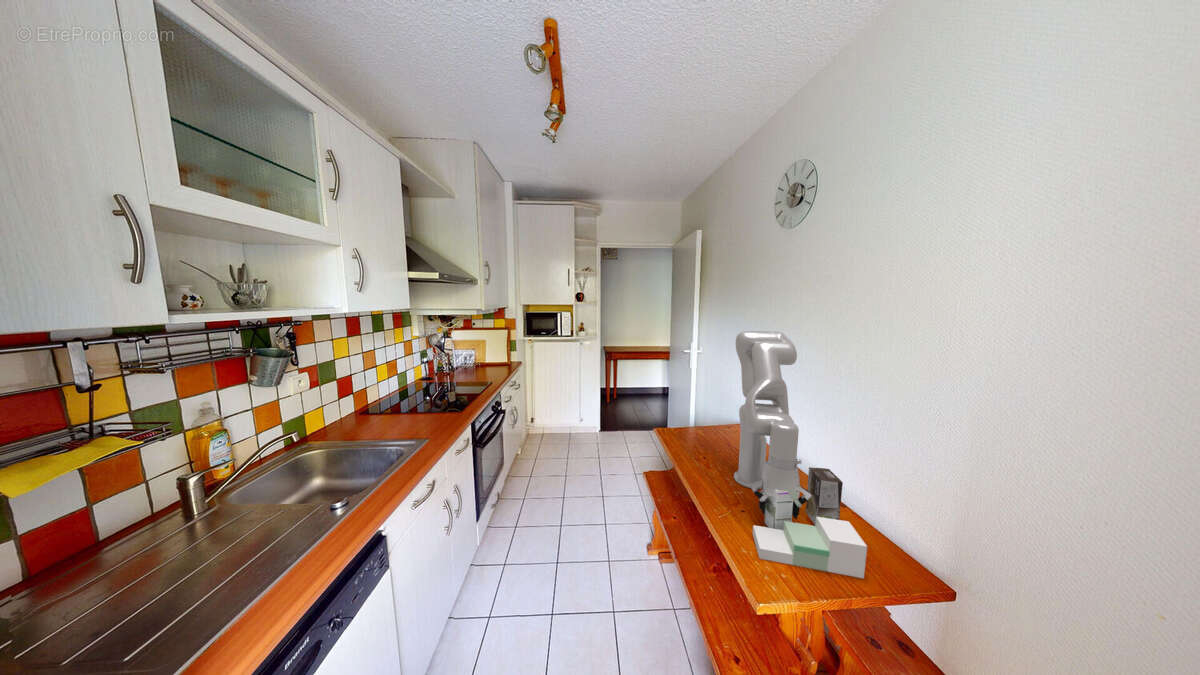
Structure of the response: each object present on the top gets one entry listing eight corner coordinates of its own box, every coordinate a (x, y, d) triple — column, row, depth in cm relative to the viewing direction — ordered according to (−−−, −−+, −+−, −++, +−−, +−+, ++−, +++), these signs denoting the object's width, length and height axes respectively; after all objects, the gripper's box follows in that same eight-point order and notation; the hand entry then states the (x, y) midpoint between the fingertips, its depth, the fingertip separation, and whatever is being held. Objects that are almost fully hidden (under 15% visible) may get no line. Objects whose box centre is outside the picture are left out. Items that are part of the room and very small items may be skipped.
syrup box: (791, 534, 102) (795, 489, 100) (773, 535, 101) (776, 490, 100) (780, 521, 107) (783, 479, 106) (762, 522, 107) (765, 480, 105)
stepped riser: (752, 534, 102) (754, 506, 101) (846, 550, 95) (848, 521, 94) (759, 559, 92) (761, 529, 91) (864, 579, 85) (867, 547, 84)
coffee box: (839, 531, 103) (843, 482, 101) (816, 528, 104) (820, 480, 103) (825, 513, 112) (829, 468, 110) (804, 510, 113) (808, 466, 111)
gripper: (809, 459, 103) (805, 511, 105) (749, 452, 108) (746, 502, 110) (818, 471, 96) (813, 526, 98) (753, 463, 100) (750, 516, 102)
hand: (778, 513), depth 104 cm, fingers open, 8 cm apart
